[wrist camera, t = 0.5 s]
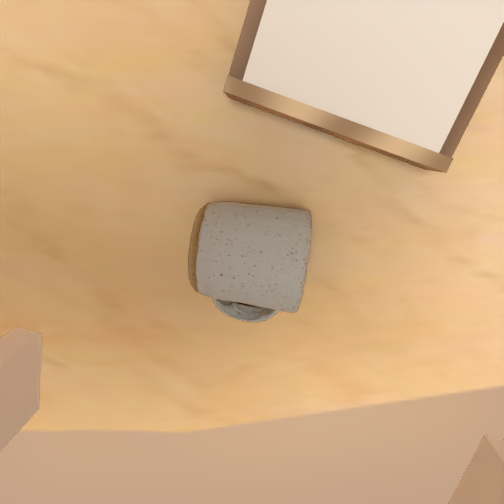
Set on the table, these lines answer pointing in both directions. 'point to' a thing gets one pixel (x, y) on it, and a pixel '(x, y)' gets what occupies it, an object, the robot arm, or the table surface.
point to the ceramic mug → (250, 258)
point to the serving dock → (343, 126)
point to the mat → (377, 59)
